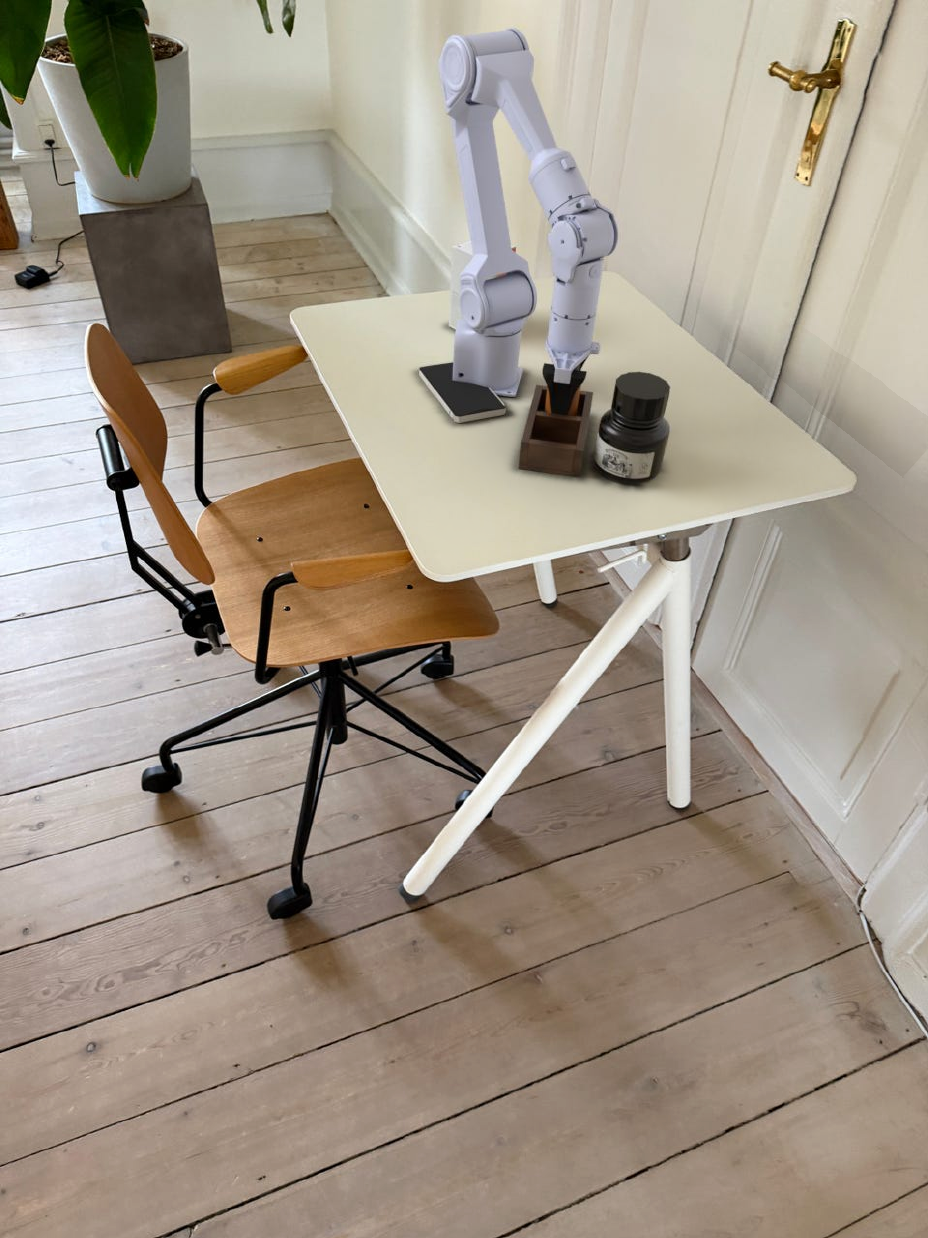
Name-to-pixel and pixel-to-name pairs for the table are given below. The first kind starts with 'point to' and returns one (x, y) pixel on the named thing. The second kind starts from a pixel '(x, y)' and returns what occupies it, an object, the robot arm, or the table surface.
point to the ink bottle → (634, 429)
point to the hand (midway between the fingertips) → (561, 405)
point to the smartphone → (461, 394)
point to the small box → (458, 263)
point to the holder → (554, 436)
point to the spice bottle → (573, 406)
